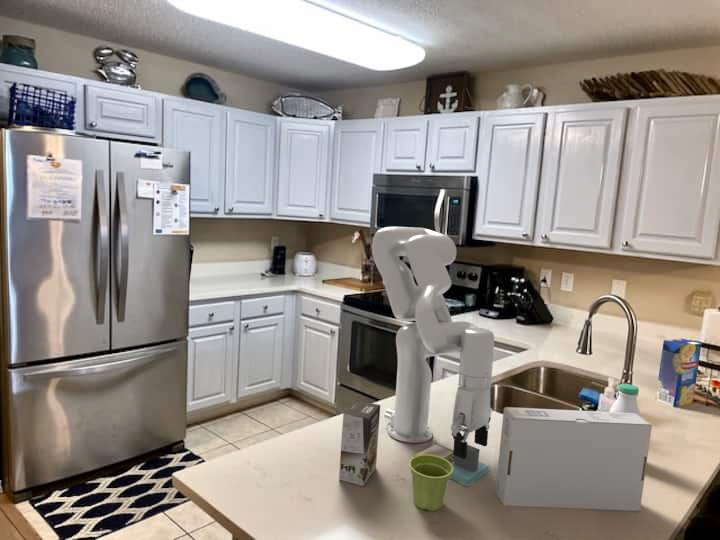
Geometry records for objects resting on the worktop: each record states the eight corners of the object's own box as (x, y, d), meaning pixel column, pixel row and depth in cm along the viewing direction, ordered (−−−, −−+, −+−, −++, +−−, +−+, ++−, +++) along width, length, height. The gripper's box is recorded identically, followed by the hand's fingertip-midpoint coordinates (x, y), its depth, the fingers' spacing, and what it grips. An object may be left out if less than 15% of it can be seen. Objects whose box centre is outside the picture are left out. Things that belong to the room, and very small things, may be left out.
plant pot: (459, 508, 107) (462, 470, 106) (425, 521, 102) (428, 481, 101) (430, 486, 115) (433, 451, 114) (397, 497, 110) (400, 460, 109)
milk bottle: (599, 457, 135) (608, 385, 132) (608, 448, 140) (617, 379, 138) (630, 468, 130) (641, 393, 127) (639, 458, 135) (649, 387, 133)
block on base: (441, 474, 121) (444, 448, 120) (463, 460, 128) (465, 436, 127) (467, 486, 116) (469, 459, 115) (488, 471, 123) (491, 446, 123)
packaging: (624, 495, 117) (636, 413, 114) (640, 511, 110) (652, 424, 108) (495, 490, 115) (503, 406, 113) (503, 506, 109) (512, 418, 107)
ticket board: (413, 460, 126) (413, 454, 126) (435, 448, 134) (436, 442, 134) (440, 473, 121) (440, 467, 121) (461, 459, 128) (462, 453, 128)
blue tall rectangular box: (692, 403, 180) (701, 343, 178) (674, 407, 175) (683, 345, 173) (673, 396, 186) (682, 338, 184) (655, 399, 181) (663, 340, 179)
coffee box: (364, 487, 113) (368, 418, 111) (337, 480, 115) (342, 412, 113) (377, 468, 122) (381, 404, 120) (352, 462, 124) (356, 399, 122)
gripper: (478, 370, 128) (474, 435, 129) (441, 384, 115) (437, 456, 117) (506, 377, 123) (501, 444, 124) (470, 392, 110) (465, 468, 112)
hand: (470, 450), depth 120 cm, fingers open, 9 cm apart
